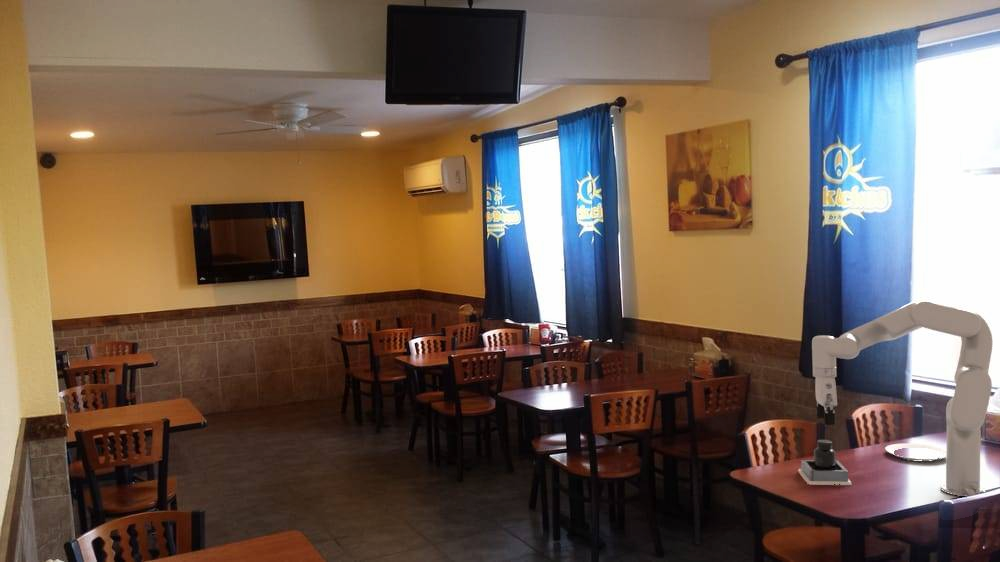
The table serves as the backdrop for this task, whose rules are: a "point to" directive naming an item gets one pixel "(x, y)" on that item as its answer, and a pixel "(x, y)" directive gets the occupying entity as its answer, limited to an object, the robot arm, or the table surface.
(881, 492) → the table surface
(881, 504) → the table surface
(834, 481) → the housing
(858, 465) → the table surface
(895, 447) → the plate
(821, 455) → the supplement bottle
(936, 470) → the table surface
